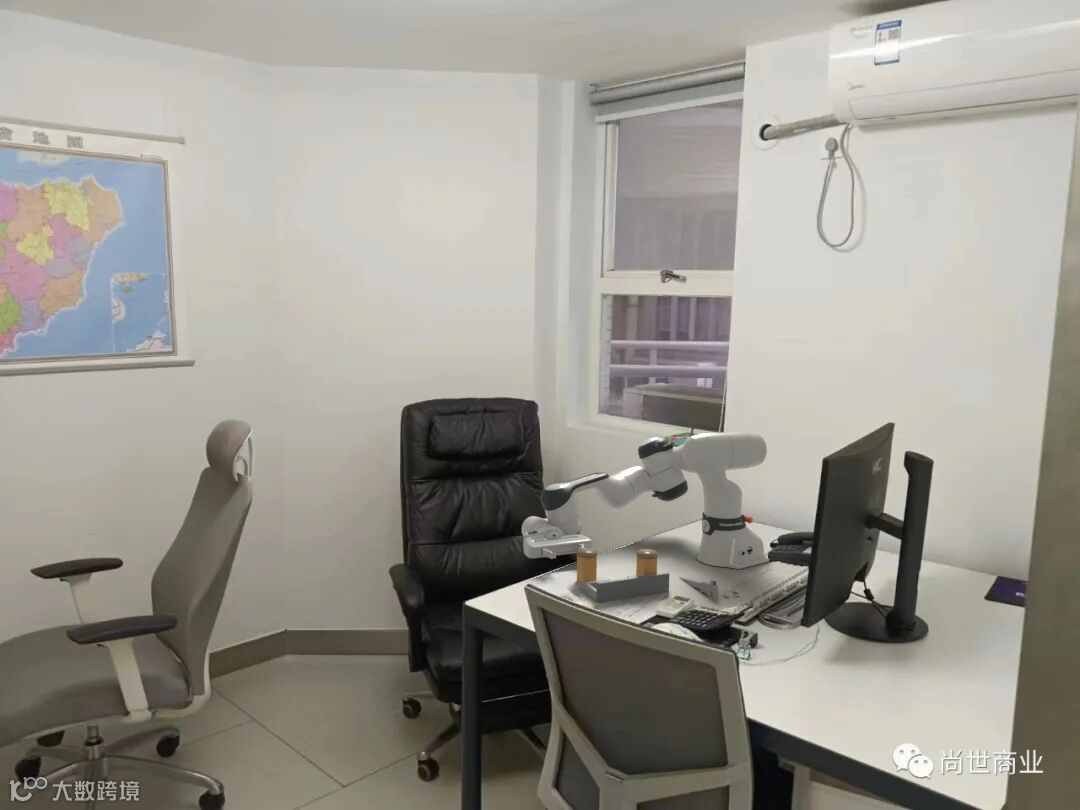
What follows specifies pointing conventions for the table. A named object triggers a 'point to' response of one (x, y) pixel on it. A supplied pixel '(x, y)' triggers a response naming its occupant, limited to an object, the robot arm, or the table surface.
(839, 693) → the table surface
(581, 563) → the amber lidded jar
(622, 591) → the housing
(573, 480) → the robot arm
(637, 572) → the orange jar with lid
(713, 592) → the caliper
